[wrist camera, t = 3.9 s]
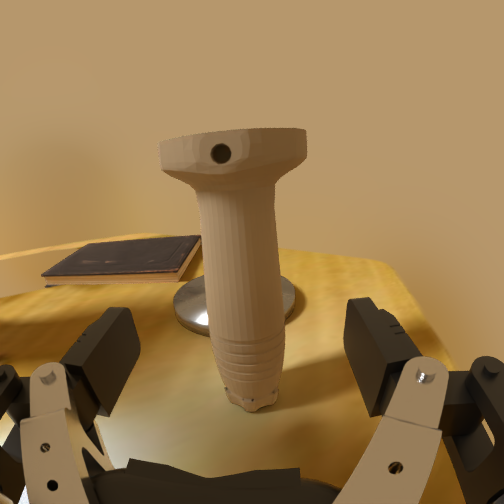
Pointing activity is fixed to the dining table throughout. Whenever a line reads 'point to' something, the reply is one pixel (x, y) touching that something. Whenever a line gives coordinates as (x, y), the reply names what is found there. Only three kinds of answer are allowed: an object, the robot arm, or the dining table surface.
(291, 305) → the disk
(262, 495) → the robot arm
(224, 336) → the handle
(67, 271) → the hardcover book
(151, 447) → the dining table surface
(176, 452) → the dining table surface
